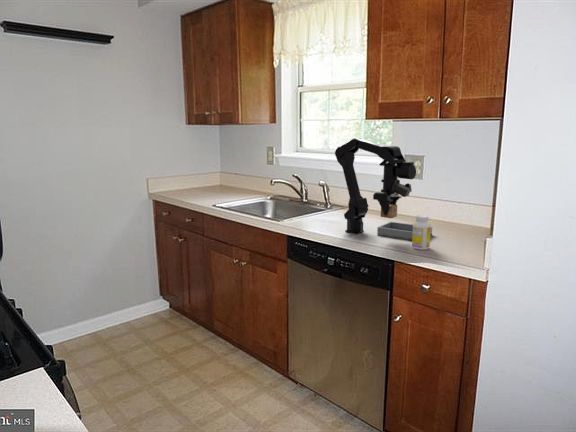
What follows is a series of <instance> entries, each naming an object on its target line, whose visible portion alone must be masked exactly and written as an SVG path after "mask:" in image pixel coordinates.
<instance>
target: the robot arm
mask: <svg viewBox="0 0 576 432" xmlns="http://www.w3.org/2000/svg"><path fill="white" fill-rule="evenodd" d="M359 150H363V151H366V152H368V153H371V154H375V155H377V156H378V157H379V158H380V159H381V160H382V161H381V162H380V163H379V166H381V167H383V174H382V175H383V177H382V179H381V180H380V182H381V183H382V188H381V189H380V191H378V192H374V193H373V194H372V199H373V200H376V201H378V204H379V205H380V209H381V208H382V210H383V213H384V215H387V214H388V209H389V204H395V205H397V203H398V201H399V200H400V199H402V198H406V197H409V195H410V193H411V192H412V184H410V183H408V182H407V183H405V184H401V181H400V179H405V180H414V179H415V178H416V176H417V168H416V166H415V165H414V164H415V162H414V161H409V162H408V161H406V159H405V157H404V155H403V154H402V151H401V148H400V147H399V146H397V145H383V144H379V143H377V142H376V143H375V142H373V141H369V140H365V139H363V138H362V137H361V138H360V137H354V138H352V139H350V141H348V142H346V143H344V144H342V145H341V146H337V148H336V149H335V151H334V155H335V159H336V161H337V162H338V163H339V165H340V166H341V167H342V171H343V176H344V179H345V183H346V187H347V191H348V195H349V198H348V199H349V200H348V204H347V206H348V207H347V208H348V209H347V210H346V212H345V213H344V214H343V216H344V219H345V220H346V229H345V230H344V232H346V233H351V234H360V233H362V232H364V221H363V218H365V217H366V215H367V213H368V211H369V204H368V199H367V197H363V196H362V195H361V191H360V188H359V183H358V182H359V181H358V179H357V175H356V170H355V166H354V162H355V158H356V157H355V154H356V153H358V152H359Z"/></svg>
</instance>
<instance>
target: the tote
mask: <svg viewBox="0 0 576 432" xmlns="http://www.w3.org/2000/svg"><path fill="white" fill-rule="evenodd" d="M376 231H377V233H376V234H377V236H381V237H382V236H383V237H389V238H395V239H401V240H409V241H412V236H413V223H405V222H396V221H388V222H387V223H384V224H382V225H380V226H377V230H376ZM432 235H433V226H431V229H430V237H431V236H432Z"/></svg>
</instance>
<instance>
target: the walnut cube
mask: <svg viewBox="0 0 576 432" xmlns="http://www.w3.org/2000/svg"><path fill="white" fill-rule="evenodd" d="M396 217H398V204H396V205H395V204H389V209H388V214H387V215H384V213H383V210H382V208H381V207H380V218H385V219H386V218H387V219H394V218H396Z"/></svg>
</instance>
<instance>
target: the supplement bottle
mask: <svg viewBox="0 0 576 432" xmlns="http://www.w3.org/2000/svg"><path fill="white" fill-rule="evenodd" d="M415 220H416V221H414V222H413V223H412V224H413V236H412V240H411V246H412V249H414V250H421V251H424V250H429V249H430V245H431V236H430V229H431V227H432V226H431V223H430V222H429V221H428V220H429V215H424V214H417V215H415Z"/></svg>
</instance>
